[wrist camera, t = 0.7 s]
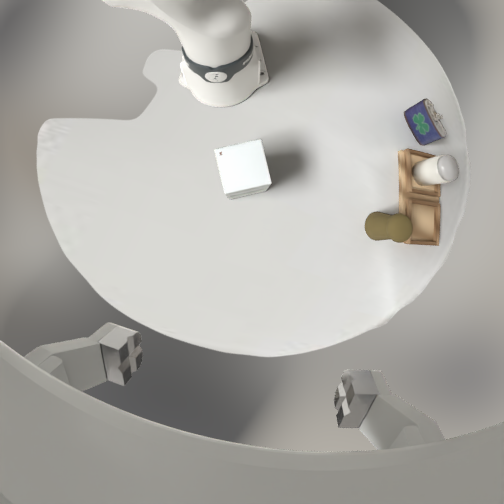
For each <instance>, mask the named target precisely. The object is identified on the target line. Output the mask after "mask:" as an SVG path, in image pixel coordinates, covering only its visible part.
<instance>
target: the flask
mask: <svg viewBox="0 0 504 504" xmlns="http://www.w3.org/2000/svg"><path fill="white" fill-rule="evenodd" d="M404 116H405V119H406V122H407V124H408V126H409V128H410V129H411V131H412V133H413V135H414V136H415V138H416V140H417V141H418V143H419V144H420V145H426V144H428V143H431V142H433V141H436V140H439V139H441V138H444V137H446V131H445V129H444V127H443V126H442V124H441V122H440V120H439V119H440V118H441V119H443V117H442V115H441V116H440V114H439V113H438V114H437V113H436V112H435V110H434V107H433V104H432V102H431V101H429V100H428V99H424V100H422V101H420V102H419V103H417V104H415V105H414V106H412V107H410V108H409V109H407V110H406V111H405V112H404Z"/></svg>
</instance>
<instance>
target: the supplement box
mask: <svg viewBox="0 0 504 504" xmlns="http://www.w3.org/2000/svg"><path fill="white" fill-rule="evenodd" d="M214 152H215V156H216V161H217V165H218V170H219V174H220V178H221V181H222V185H223V189H224V192H225V195H226V196H227V197H228V199H229V200H231V199H234V198H238V197H242V196H247V195H251V194H256V193H261V192H265V191H266V190H267V189H268V187H269V186H270V185H271V183H272V182H271V178H270V173H269V169H268V164H267V160H266V155H265V151H264V146H263V142H262V139H257V140H253V141H248V142H243V143H238V144H234V145H230V146H226V147H221V148H217V149H214Z"/></svg>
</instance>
